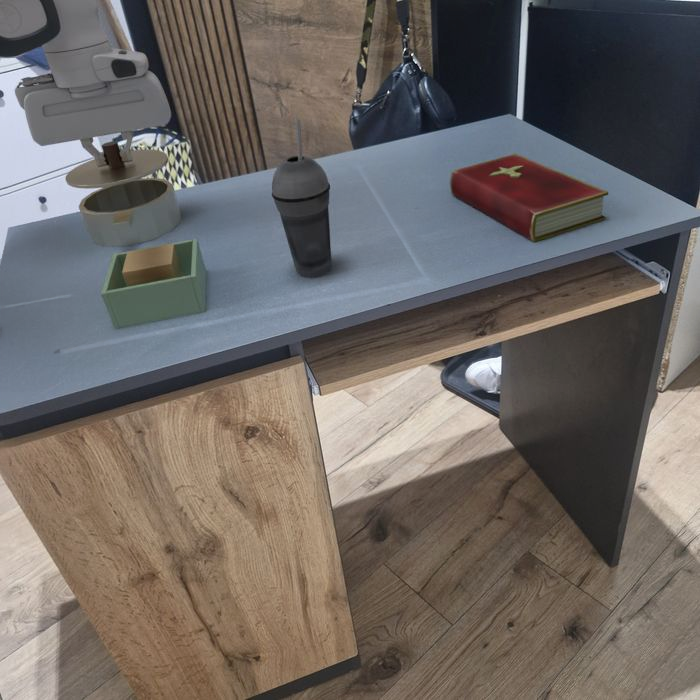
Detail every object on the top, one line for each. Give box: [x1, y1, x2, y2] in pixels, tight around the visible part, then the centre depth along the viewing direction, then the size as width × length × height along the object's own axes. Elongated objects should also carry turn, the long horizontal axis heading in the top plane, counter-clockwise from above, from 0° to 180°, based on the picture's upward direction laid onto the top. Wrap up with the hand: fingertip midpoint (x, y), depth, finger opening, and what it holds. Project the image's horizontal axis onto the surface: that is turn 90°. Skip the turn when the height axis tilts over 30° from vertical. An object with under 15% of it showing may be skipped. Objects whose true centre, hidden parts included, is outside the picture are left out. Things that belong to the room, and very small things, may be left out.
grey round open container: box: [78, 177, 182, 248], centre depth 103 cm, size 15×20×6 cm
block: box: [122, 242, 184, 287], centre depth 82 cm, size 6×6×6 cm
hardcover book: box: [449, 153, 609, 243], centre depth 93 cm, size 12×21×4 cm, turn 23°
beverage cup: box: [271, 119, 332, 279], centre depth 79 cm, size 7×7×20 cm
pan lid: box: [65, 140, 169, 190], centre depth 98 cm, size 16×16×5 cm
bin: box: [100, 238, 207, 330], centre depth 82 cm, size 11×11×6 cm
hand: (116, 163), depth 99 cm, fingers closed on pan lid, 2 cm apart
